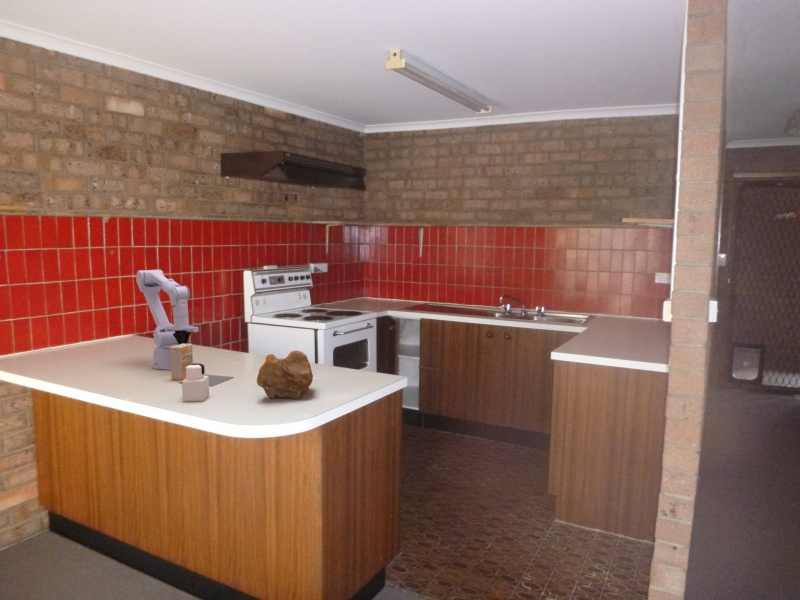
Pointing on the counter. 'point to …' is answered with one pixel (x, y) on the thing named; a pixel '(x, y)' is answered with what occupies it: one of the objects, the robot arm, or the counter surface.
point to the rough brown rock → (285, 375)
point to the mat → (216, 379)
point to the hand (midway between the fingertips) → (183, 349)
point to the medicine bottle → (195, 383)
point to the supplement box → (180, 360)
